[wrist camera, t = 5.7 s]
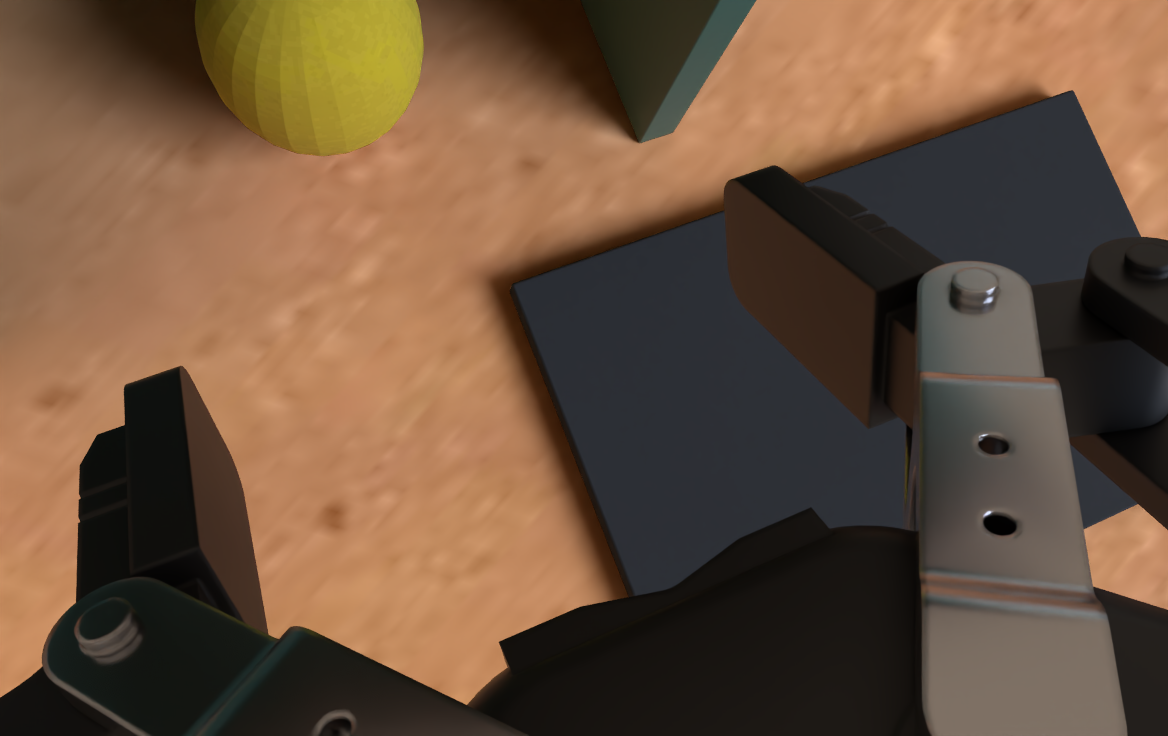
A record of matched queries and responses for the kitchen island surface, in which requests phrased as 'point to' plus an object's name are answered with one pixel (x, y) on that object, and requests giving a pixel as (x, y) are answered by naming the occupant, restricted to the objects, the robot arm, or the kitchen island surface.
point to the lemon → (313, 67)
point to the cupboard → (662, 53)
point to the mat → (768, 370)
